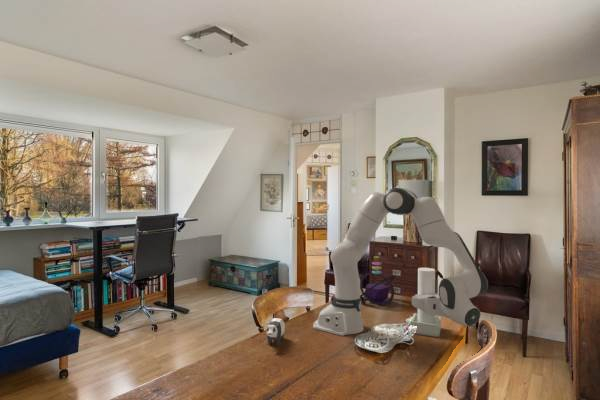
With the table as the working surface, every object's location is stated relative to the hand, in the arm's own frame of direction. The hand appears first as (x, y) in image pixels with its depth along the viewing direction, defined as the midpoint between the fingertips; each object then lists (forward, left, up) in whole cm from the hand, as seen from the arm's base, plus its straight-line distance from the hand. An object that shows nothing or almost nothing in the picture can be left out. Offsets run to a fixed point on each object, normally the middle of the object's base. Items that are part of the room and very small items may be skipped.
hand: (425, 295), depth 162 cm
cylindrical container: (+1, -1, -13) cm, 14 cm away
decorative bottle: (-29, +32, -15) cm, 45 cm away
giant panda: (-53, -40, -15) cm, 68 cm away
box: (+1, -1, -15) cm, 15 cm away
